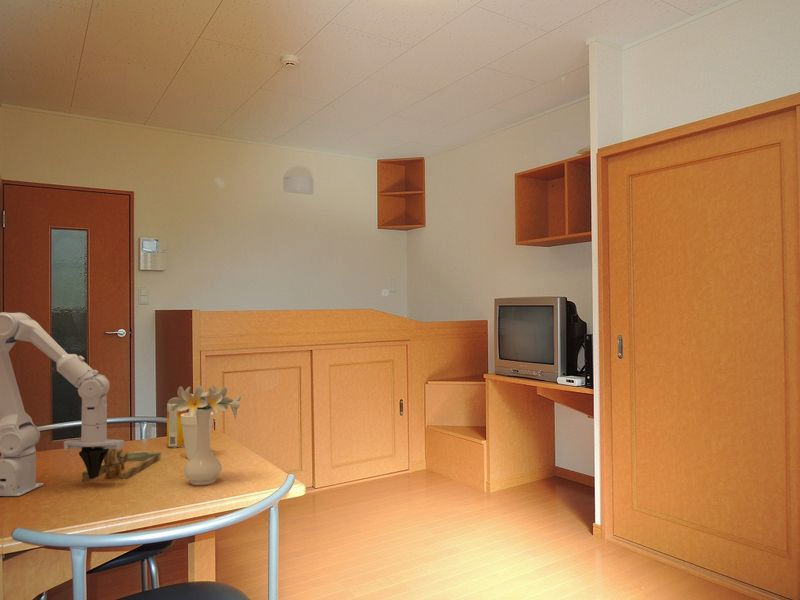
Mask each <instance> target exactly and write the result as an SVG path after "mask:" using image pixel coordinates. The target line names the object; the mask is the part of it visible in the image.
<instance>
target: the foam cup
mask: <svg viewBox="0 0 800 600" xmlns="http://www.w3.org/2000/svg"><path fill="white" fill-rule="evenodd" d="M213 412H214V411H213ZM213 412H212V411H211V415H210V421H209V439H210V440H211V437H212V432H213V431H212V430H213V422H215V421H214V418H215V417H214V414H215V412H214V413H213ZM181 424H182V430H183V438H184V453H185V457H187V458H192V456H193V454H194V452H195V449H196V443H197V419H196V415H195V416H194V417H190V415H189V411H187V413H184V414H181ZM187 458H186V459H187Z"/></svg>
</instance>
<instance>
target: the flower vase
mask: <svg viewBox="0 0 800 600" xmlns="http://www.w3.org/2000/svg"><path fill="white" fill-rule="evenodd" d="M243 393H244V392H243V391H241V392H240V393H239V395H238V396H237V397H236V398H235V399H234V400H233V398H231V397H229V396H228V397H227V394H228V389H227V387H226V386H223V387H221V388H220V389H219V388H218V387H217V386H216V385H215V384H213V385H212V387H210V386H209V387H208V391H204V388H203V387H202V386H201V385H196V387H195V391H194V393H191V386H188V387H187V388H186V389H185V390H184V387H183V386H181V385H180V386H178V389H177V396H175V397H172V398H170V399H169V400H168V401H167V404H175V405H174V406H173V407H172V409H171V411H174V410H175V409H176V408H177V410H178V411H184V410H187V411H188V412H189V415H190V417H194V416H195V415H196V419H197V443H196V449H195V452H194V454H193V456H192V458H191V459H188V461H187V462H186V464H185V465H184V467H183V468H184V469H183V474H184V476H185V477H186V478H187V479H188V480H190V481H189V482H190V484H191V485H193V486H207V485H212V484H213V483H215V482H216V478H217V477H218V476H219V475H220V473H221V472H222V470H223V467H222V463H221V461H220V460H219V458H217V457H216V456H215V455H214V453H213V450H212V448H211V447H212V446H211V438H210V439H209V421H210V415H211V412H212V411H213V412H214V414H216V415H218V414H219V411H222V412H227V410H228V409H229V407H228V406H230V409H231V411H232V413H233V416H234V419H235V421H236V420H237V414H238V409H239V408H240V405H241V399H242V398H241V397H242V396H243V395H242V394H243Z"/></svg>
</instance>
